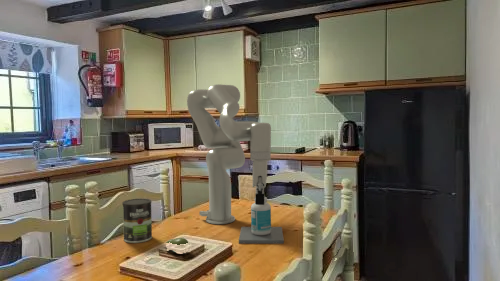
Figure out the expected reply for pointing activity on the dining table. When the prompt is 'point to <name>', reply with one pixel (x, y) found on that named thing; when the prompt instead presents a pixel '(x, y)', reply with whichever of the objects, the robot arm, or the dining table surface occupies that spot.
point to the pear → (178, 241)
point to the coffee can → (137, 220)
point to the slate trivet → (261, 236)
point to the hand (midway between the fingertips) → (260, 201)
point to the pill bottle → (261, 218)
